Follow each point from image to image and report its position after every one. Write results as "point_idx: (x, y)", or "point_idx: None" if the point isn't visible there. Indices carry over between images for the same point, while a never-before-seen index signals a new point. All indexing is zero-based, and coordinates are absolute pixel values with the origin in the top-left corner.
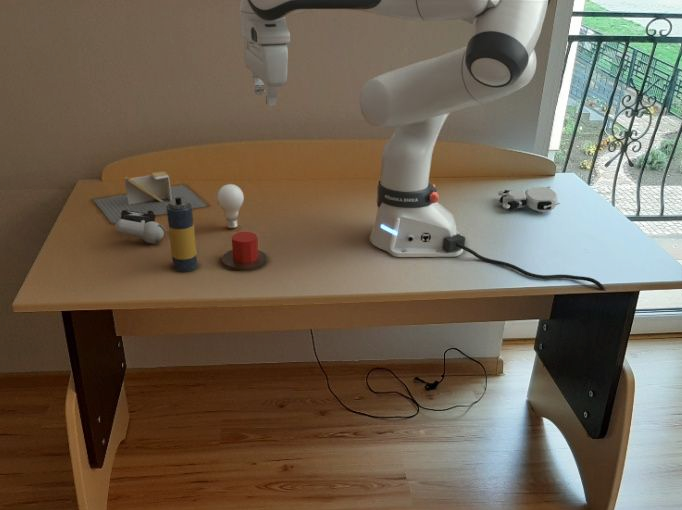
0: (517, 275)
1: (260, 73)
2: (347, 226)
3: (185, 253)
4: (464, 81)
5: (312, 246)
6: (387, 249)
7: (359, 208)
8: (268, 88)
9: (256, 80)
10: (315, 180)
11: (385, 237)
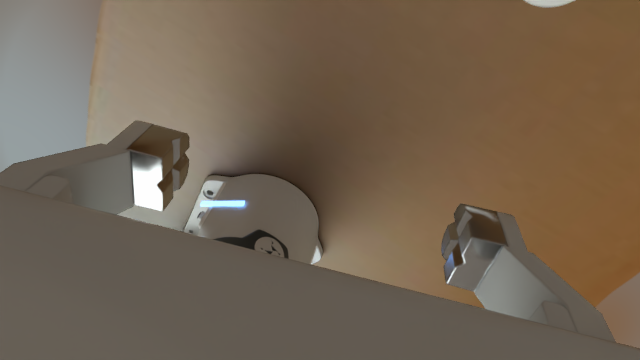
0: None
1: (35, 247)
2: (366, 184)
3: None
4: None
5: (317, 76)
6: (231, 179)
7: (426, 246)
8: (6, 174)
9: (522, 289)
10: (619, 266)
11: (234, 192)
